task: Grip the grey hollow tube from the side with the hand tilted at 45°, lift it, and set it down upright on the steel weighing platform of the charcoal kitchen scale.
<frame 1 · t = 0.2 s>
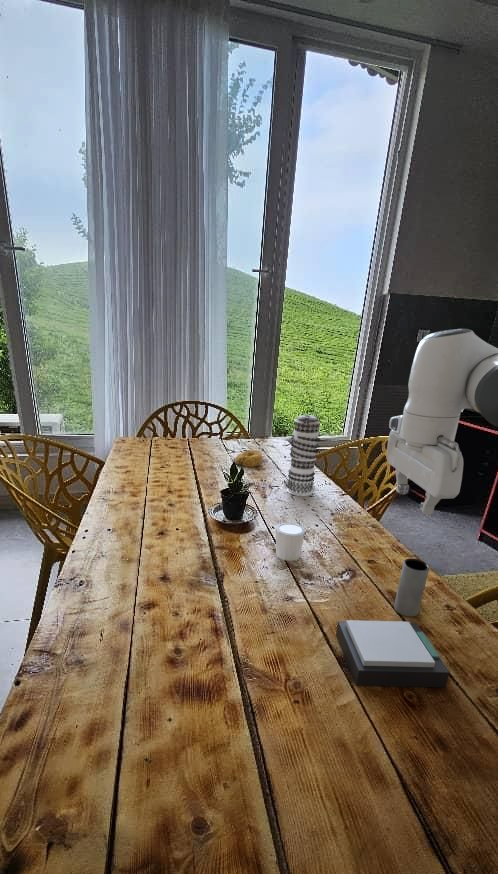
hand: (413, 502, 82), 21 cm above the table, tool pointing down, fingers open, 8 cm apart
bagel: (247, 464, 174), on the table
banded tower model: (299, 491, 147), on the table
scale: (386, 659, 74), on the table
white short cylinder: (287, 555, 106), on the table
grey hollow tube: (405, 610, 87), on the table
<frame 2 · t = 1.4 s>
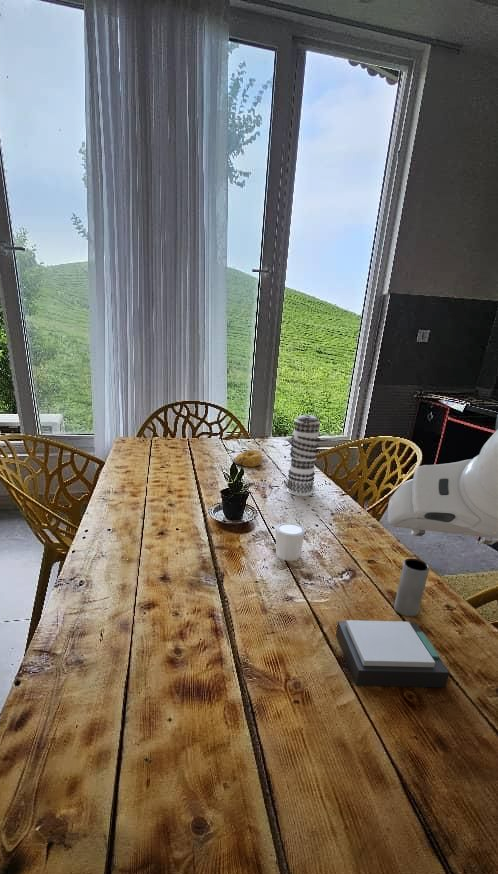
hand: (450, 535, 65), 23 cm above the table, tool tilted 45°, fingers open, 8 cm apart
nothing on the table moved.
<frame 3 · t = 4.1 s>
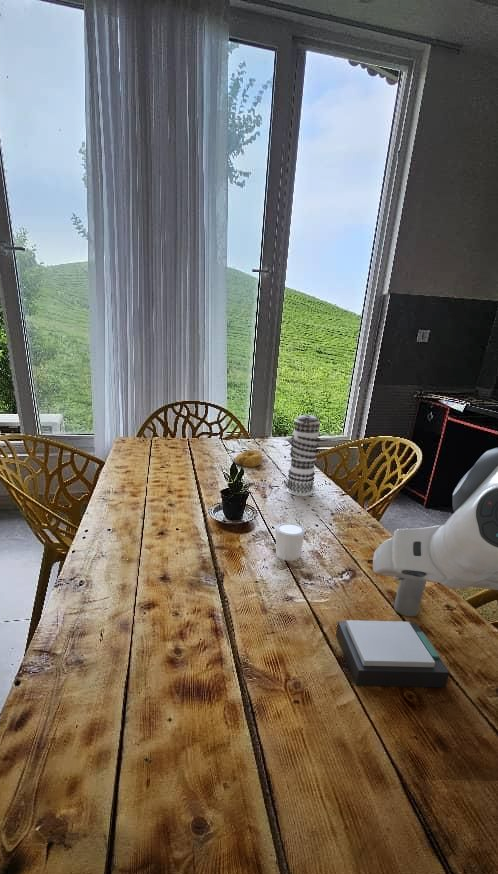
hand: (426, 579, 76), 11 cm above the table, tool tilted 45°, fingers open, 8 cm apart
nothing on the table moved.
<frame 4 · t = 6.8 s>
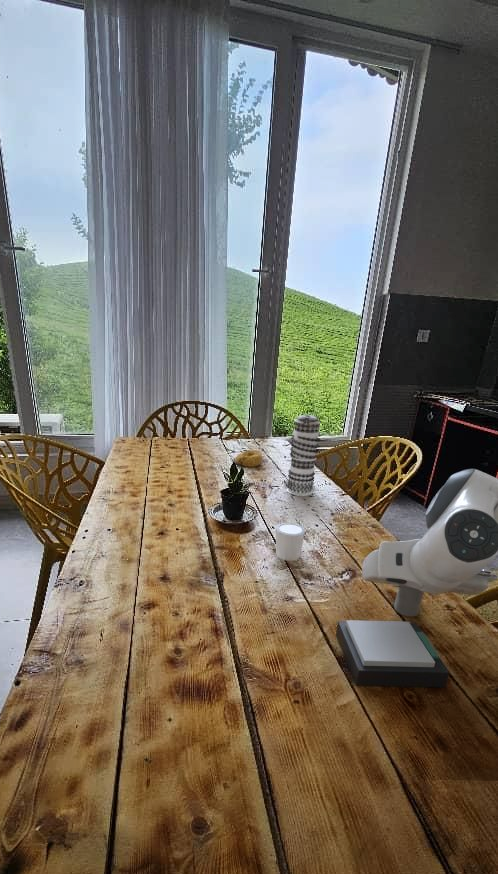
hand: (410, 584, 86), 5 cm above the table, tool tilted 45°, fingers closed on grey hollow tube, 4 cm apart
grey hollow tube: (405, 610, 87), on the table, touching gripper
everything else where it was.
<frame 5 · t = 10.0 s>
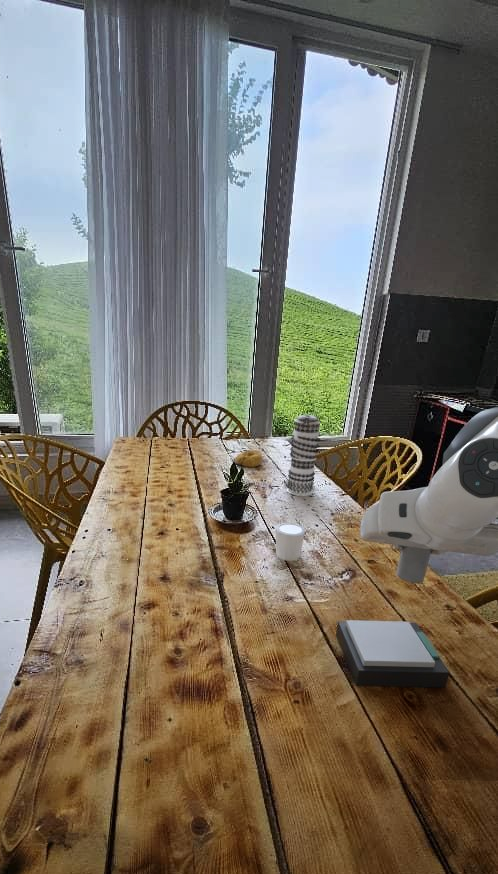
hand: (415, 547, 76), 17 cm above the table, tool tilted 45°, fingers closed on grey hollow tube, 4 cm apart
grey hollow tube: (409, 577, 77), point 11 cm above the table, touching gripper
everything else where it was.
when the fingers open (9 cm above the table, at t = 13.6 s): grey hollow tube stays where it is, resting on scale.
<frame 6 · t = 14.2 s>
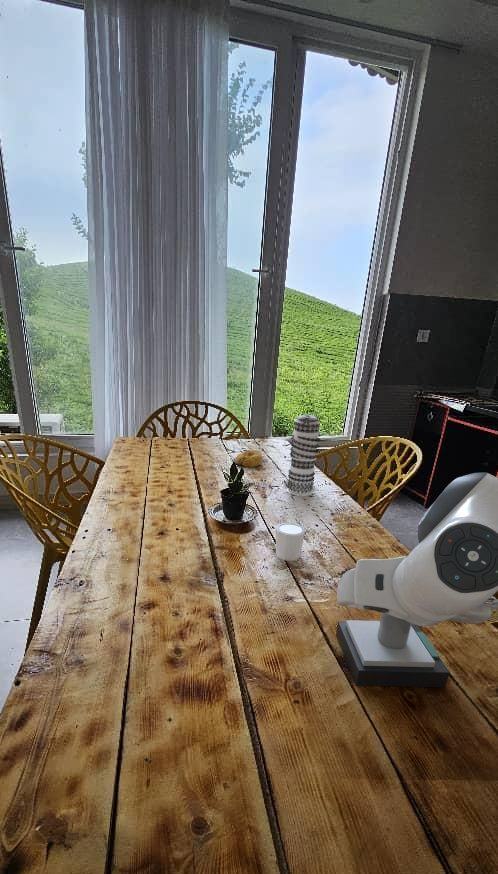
hand: (396, 608, 71), 10 cm above the table, tool tilted 45°, fingers open, 8 cm apart
grey hollow tube: (391, 641, 72), point 4 cm above the table, touching scale
everything else where it was.
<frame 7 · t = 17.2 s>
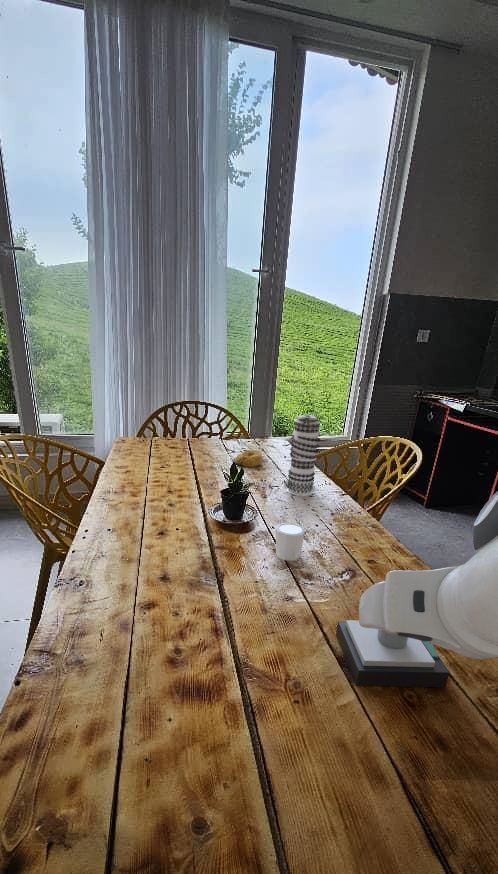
hand: (432, 629, 57), 16 cm above the table, tool tilted 45°, fingers open, 8 cm apart
nothing on the table moved.
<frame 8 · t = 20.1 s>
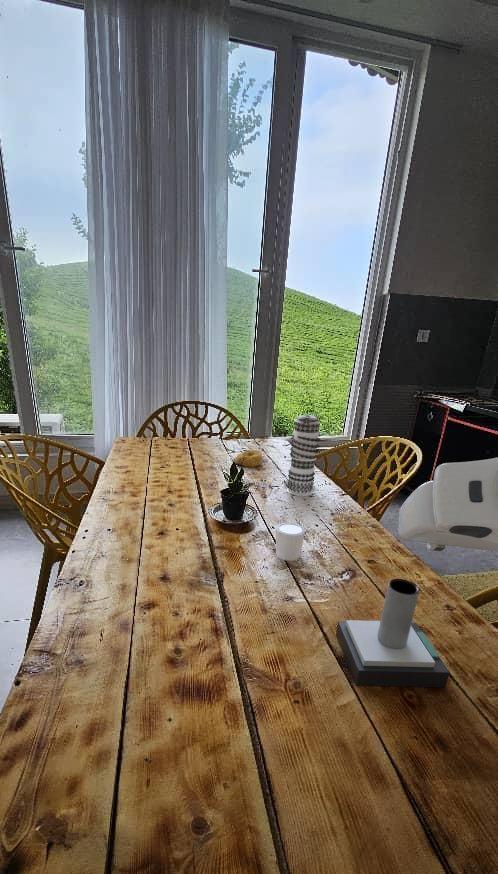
hand: (475, 549, 52), 27 cm above the table, tool tilted 45°, fingers open, 8 cm apart
nothing on the table moved.
at the end: grey hollow tube inside the target area on the scale (0.6 cm from its centre), point 3.8 cm above the scale's base; grey hollow tube tilted 0°; the gripper is holding nothing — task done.
